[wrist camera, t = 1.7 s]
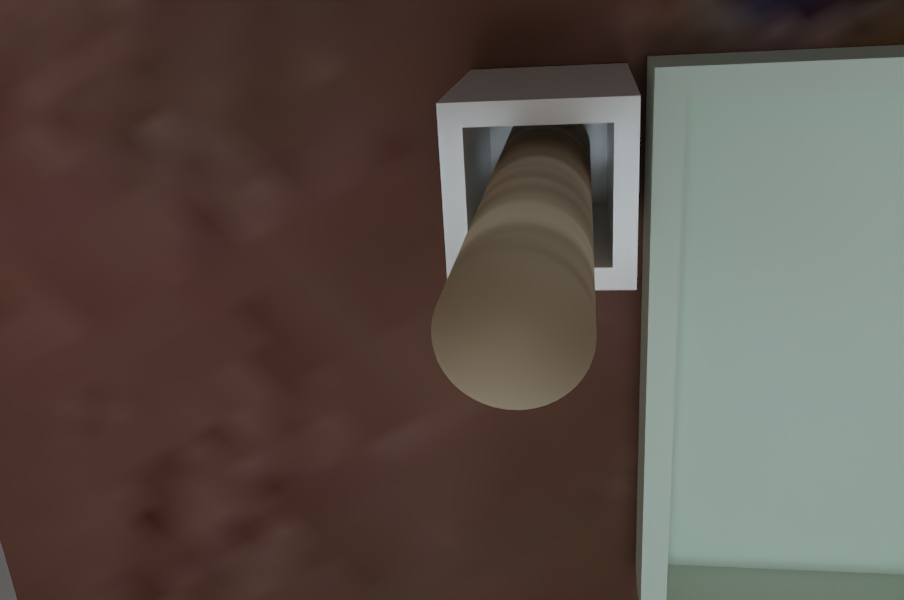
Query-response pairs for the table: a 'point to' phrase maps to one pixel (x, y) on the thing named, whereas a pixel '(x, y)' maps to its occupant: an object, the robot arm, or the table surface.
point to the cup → (547, 103)
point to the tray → (773, 327)
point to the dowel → (524, 276)
